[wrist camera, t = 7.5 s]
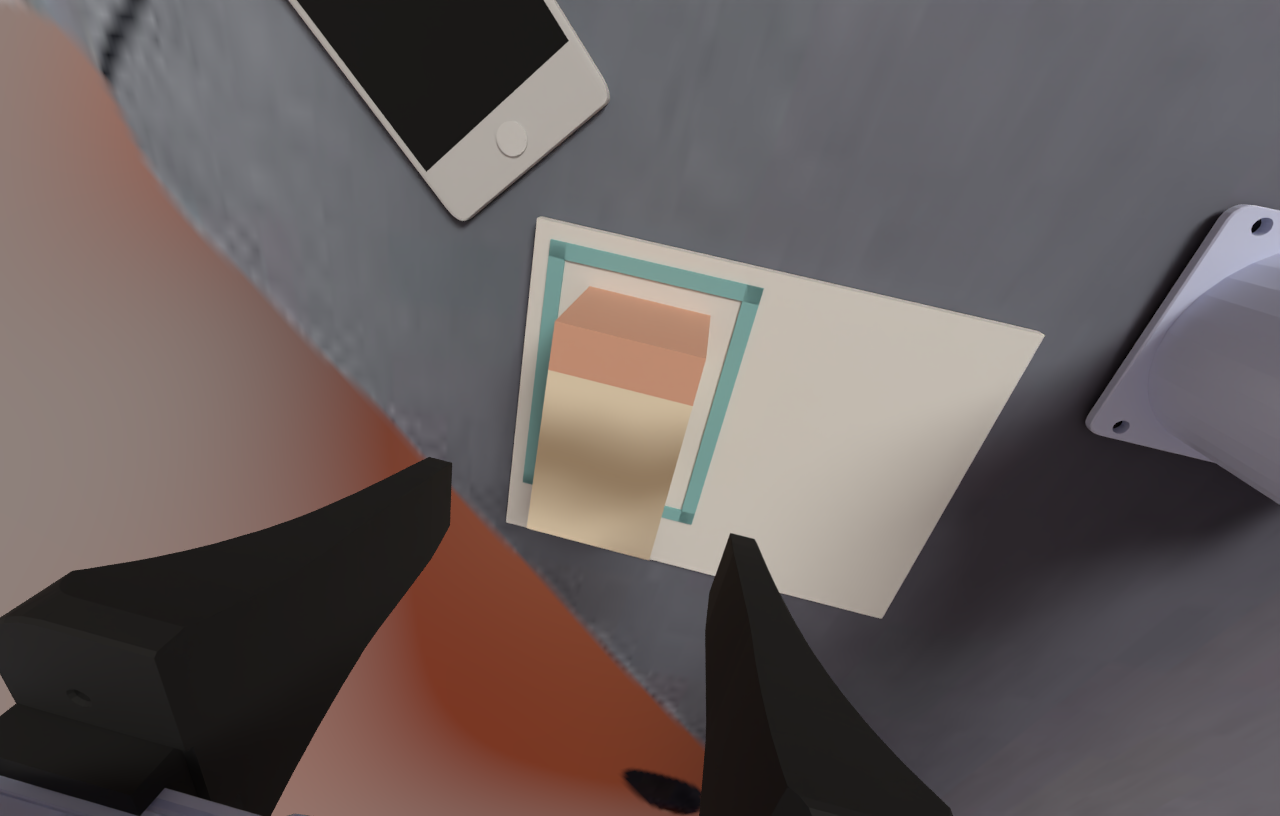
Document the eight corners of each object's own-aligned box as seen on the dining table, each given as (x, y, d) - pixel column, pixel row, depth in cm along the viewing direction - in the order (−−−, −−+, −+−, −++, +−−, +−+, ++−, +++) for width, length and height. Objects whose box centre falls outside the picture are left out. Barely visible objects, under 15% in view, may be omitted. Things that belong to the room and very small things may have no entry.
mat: (1037, 330, 19) (1046, 336, 18) (878, 610, 25) (882, 620, 25) (541, 216, 20) (536, 218, 19) (509, 515, 26) (505, 523, 25)
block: (662, 489, 23) (649, 560, 19) (560, 463, 24) (526, 528, 20) (710, 315, 20) (705, 358, 16) (589, 285, 20) (554, 321, 16)
